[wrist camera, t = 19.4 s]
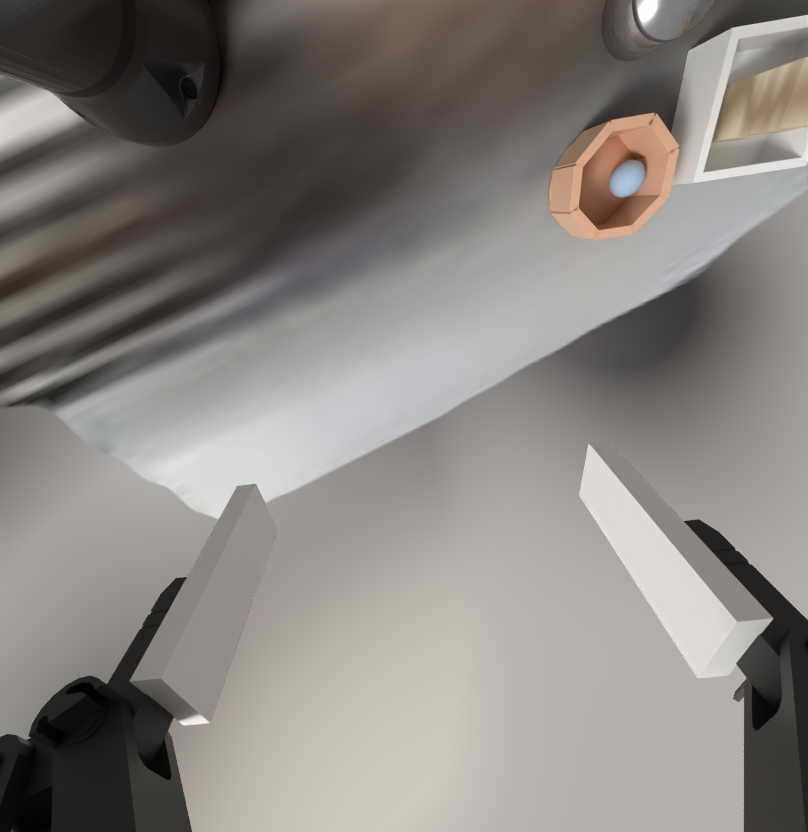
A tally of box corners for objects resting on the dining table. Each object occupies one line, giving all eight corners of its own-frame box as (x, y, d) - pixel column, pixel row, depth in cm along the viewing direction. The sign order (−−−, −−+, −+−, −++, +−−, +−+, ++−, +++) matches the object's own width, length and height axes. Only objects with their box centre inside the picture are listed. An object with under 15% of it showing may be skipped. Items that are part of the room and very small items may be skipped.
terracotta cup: (551, 136, 33) (577, 125, 29) (646, 120, 33) (688, 106, 28) (544, 239, 38) (566, 244, 33) (627, 226, 38) (661, 229, 33)
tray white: (685, 52, 31) (732, 27, 26) (802, 32, 30) (869, 4, 26) (657, 185, 36) (693, 182, 32) (756, 170, 36) (806, 165, 31)
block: (715, 89, 32) (805, 57, 25) (760, 83, 31) (862, 50, 25) (700, 144, 34) (778, 128, 27) (741, 139, 34) (831, 122, 27)
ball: (642, 166, 34) (653, 187, 33) (609, 189, 36) (619, 210, 35) (634, 145, 32) (646, 166, 31) (600, 170, 34) (610, 191, 33)
